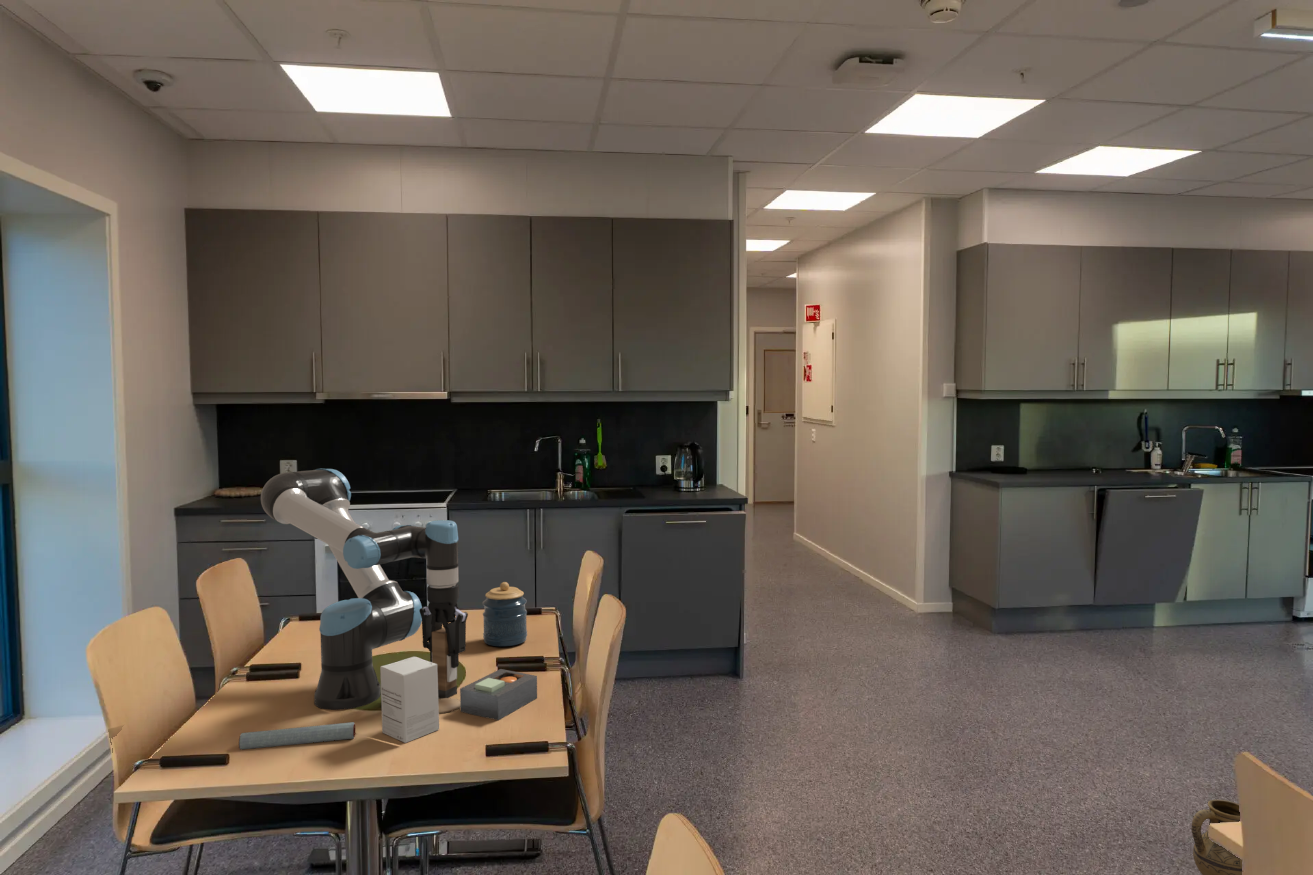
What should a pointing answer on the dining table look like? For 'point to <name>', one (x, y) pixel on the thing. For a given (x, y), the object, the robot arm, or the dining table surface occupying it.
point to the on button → (490, 685)
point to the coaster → (448, 705)
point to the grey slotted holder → (499, 695)
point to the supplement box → (409, 699)
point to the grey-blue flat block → (297, 735)
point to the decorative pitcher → (1209, 857)
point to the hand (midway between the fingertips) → (444, 678)
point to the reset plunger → (509, 679)
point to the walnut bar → (442, 664)
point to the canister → (504, 616)
